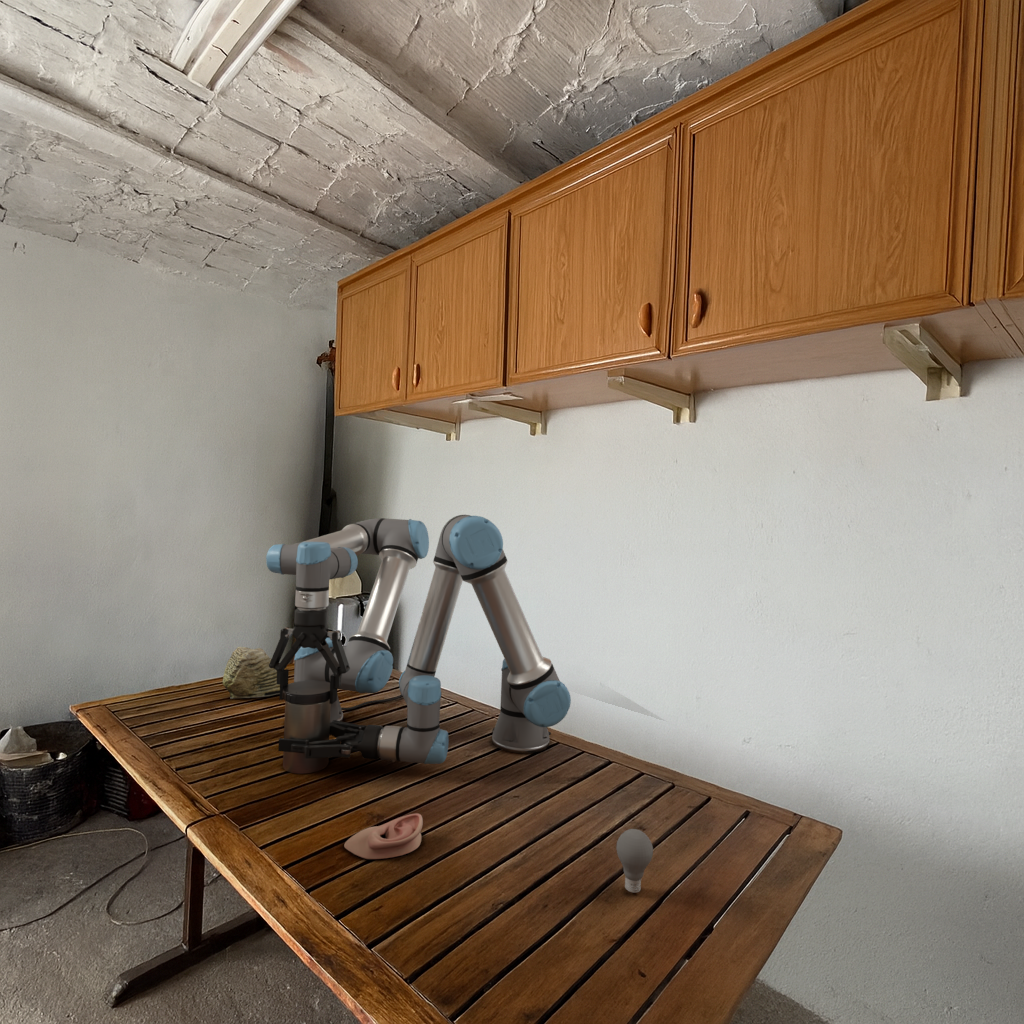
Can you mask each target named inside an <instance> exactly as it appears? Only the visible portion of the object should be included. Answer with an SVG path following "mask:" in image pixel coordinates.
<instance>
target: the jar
mask: <svg viewBox="0 0 1024 1024" xmlns="http://www.w3.org/2000/svg"><path fill="white" fill-rule="evenodd" d="M329 700H330V699H329ZM329 700H327V701H324V702H320V703H313V704H295V703H290V702H287V701H285V700H284V726H283V727H284V728H283V738H285V739H298V740H306V739H308V740H309V742H315V741H322V740H330V736H329V734H330V708H331V704H329ZM282 753H283V754H282V769H283V770H284V771H286V772H287V773H291V774H297V775H298V774H301V775H302V774H311V773H317V772H319V771H322V770H323V769H325V768H326V767H327V766H328V765H329V759H330V757H328V758H305V753H296V752H283V751H282Z"/></svg>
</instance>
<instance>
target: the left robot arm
mask: <svg viewBox="0 0 1024 1024" xmlns="http://www.w3.org/2000/svg"><path fill="white" fill-rule="evenodd" d="M429 548H430V537H429V532H428V528H427V526H426V525H425V523H424V522H423V521H422V520H418V519H417V520H415V519H411V518H409V519H401V518H384V517H375V518H369V519H365V520H361V521H357V522H353V523H350V524H347V525H345V526H344V527H343V528H342V529H341V530H338V531H334V532H331V533H328V534H324V535H321V536H318V537H314V538H310V539H307V540H304V541H300V542H296V543H291V544H286V543H281V544H279V543H276V544H273V545H272V546H271V547H269V549H268V550H267V552H266V557H265V559H266V560H265V561H266V562H265V563H266V564H265V565H266V567H267V569H268V570H269V571H270V572H271V573H274V574H280V575H290V576H291V575H292V576H296V577H295V599H294V606H295V609H294V620H293V622H294V627H293V628H291V627H289V626H286V627H283V628H281V629H280V632H279V633H280V634H279V640H278V642H277V644H276V647H275V650H274V651H273V654H272V657H271V661H270V664H269V667H270V668H274V669H276V671H277V684H278V685H280V694H279V697H278V699H279V701H284V700H283V697H282V691H283V687H284V686H286V685H288V684H289V675H290V674H289V672H290V669H287V667H288V665H289V664H290V662H291V661H292V660H294V672H293V683H294V682H298V681H308V680H318V681H326V682H329V683H330V700H329V704H331V708H330V723H332V721H333V720H337V721H342V722H344V713H343V711H351V710H355V709H357V708H361V707H362V706H365V705H371V704H376V703H385V702H393V701H397V700H398V699H400V698H403V695H402V694H401V693H400V695H398V696H395V697H391V698H385V699H375V700H369V701H364V702H362V703H359V704H356V705H354V706H350V707H343V706H341V702H340V699H339V695H338V690H341V691H350V692H356V693H359V694H376V693H379V692H380V691H381V690H383V689H384V687H385V686H386V685H387V684H388V682H389V680H390V678H391V675H392V673H393V668H394V666H393V664H394V657H393V653H392V652H390V651H391V647H390V645H389V643H388V640H389V636H390V632H391V629H392V626H393V623H394V619H395V617H396V614H397V609H398V607H399V604H400V601H401V597H402V596H403V595H402V594H403V592H404V588H405V585H406V582H407V579H408V575H409V573H410V570H412V569H414V568H415V567H416V566H417V564H418V561H419V560H422V559H425V558H426V557H427V555H428V553H429ZM359 555H373V556H378V557H379V559H380V561H381V562H380V565H379V568H378V571H377V574H376V576H375V580H374V583H373V586H372V588H371V591H370V594H369V598H368V600H367V603H366V606H365V609H364V612H363V615H362V617H361V620H360V623H359V626H358V629H357V632H356V633H354V634H352V635H350V637H349V638H348V641H347V644H346V645H343V643H342V632H341V630H340V629H337V630H334V631H333V630H329V628H328V623H329V609H328V608H327V607H329V605H330V602H329V601H330V600H329V599H330V580H334V579H335V580H336V579H344V578H346V577H349V576H350V575H352V574H353V573H355V571H357V568H358V564H359V561H358V556H359ZM292 636H293V637H294V639H295V641H294V642H293V644H292V645H291V647H290V649H289V650H288V652H286V654H285V655H284V652H285V649H286V647H287V645H288V642H289V640H290V638H291V637H292ZM283 655H284V657H283ZM282 657H283V658H282ZM293 658H294V659H293Z"/></svg>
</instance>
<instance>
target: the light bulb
mask: <svg viewBox="0 0 1024 1024" xmlns="http://www.w3.org/2000/svg"><path fill="white" fill-rule="evenodd" d="M615 849H616V854H617V857H618V859H619V861H620V863H621V865H622V867H623V873H624V874H623V875H624V876H625V878H624V888H625V890H627V891H628V892H630V893H634V894H635V893H639V892H640V891H641V889H642V887H641V886H642V879H643V877H644V875H645V871H646V868H647V867H648V866H649V864H650V863H651V861H652V859H653V855H654V847H653V843H652V841H651V838H649V836H648V835H647V834H646V833H645V832H643V831H642V830H641V829H636V828H629V829H627V830H625V831H623V832H622V833H621V834H620V835H619V837H618V839H617V841H616V847H615Z"/></svg>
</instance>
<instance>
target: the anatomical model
mask: <svg viewBox="0 0 1024 1024" xmlns="http://www.w3.org/2000/svg"><path fill="white" fill-rule="evenodd" d="M423 820H424V819H423V815H421V814H420V813H409V814H405V815H403V816H400V817H397V818H395V819H392V820H390V821H388V822H386V823H383V824H381V825H378V826H377V825H376V826H370V827H367V828H364V829H362V830H360V831H358V832H356V833H355V834H353V835H352V836H351V837H350V838H348V839H347V840H346V841H345V842H344V845H343V847H344V849H346V850H347V851H348V852H350V853H351V854H353V855H355V856H358V857H360V858H362V859H366V860H381V859H389V858H390V859H391V858H396V857H400V856H404V855H406V854H409V853H412V852H414V851H415V850H417V849H418V848H419V847H420V845H421V842H422V829H423V826H424V825H423V823H424V821H423Z"/></svg>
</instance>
